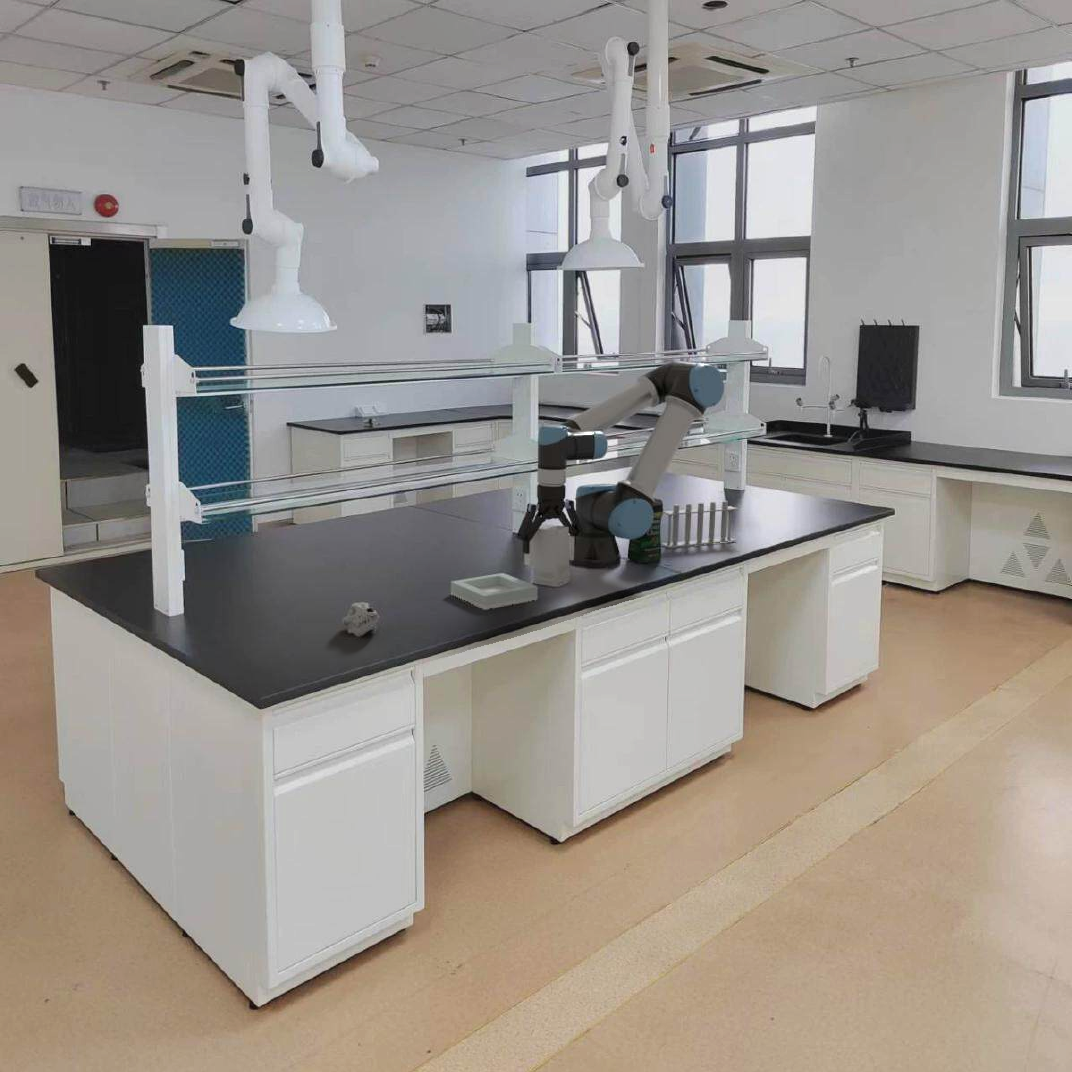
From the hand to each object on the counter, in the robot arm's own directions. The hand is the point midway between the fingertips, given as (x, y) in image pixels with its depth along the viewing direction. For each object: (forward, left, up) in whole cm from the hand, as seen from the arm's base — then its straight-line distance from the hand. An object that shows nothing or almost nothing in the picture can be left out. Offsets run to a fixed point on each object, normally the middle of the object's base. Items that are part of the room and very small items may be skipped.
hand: (549, 562), depth 276 cm
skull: (+61, +11, -6) cm, 62 cm away
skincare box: (0, 0, -6) cm, 6 cm away
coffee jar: (-38, -5, -6) cm, 39 cm away
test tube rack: (-67, -12, -6) cm, 69 cm away
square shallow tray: (+20, +3, -6) cm, 21 cm away
